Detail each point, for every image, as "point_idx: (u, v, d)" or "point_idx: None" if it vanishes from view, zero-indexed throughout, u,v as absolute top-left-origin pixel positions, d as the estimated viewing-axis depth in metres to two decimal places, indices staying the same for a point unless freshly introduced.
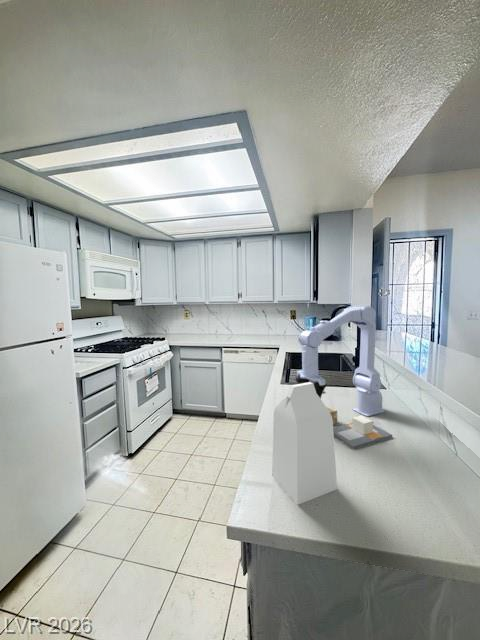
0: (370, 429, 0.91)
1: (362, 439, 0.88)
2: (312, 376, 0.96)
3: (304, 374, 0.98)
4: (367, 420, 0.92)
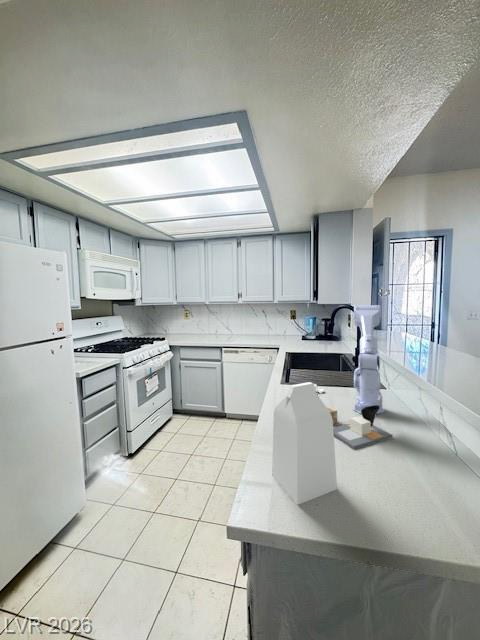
0: (368, 430, 0.91)
1: (362, 439, 0.88)
2: (361, 400, 0.92)
3: None
4: (365, 421, 0.91)
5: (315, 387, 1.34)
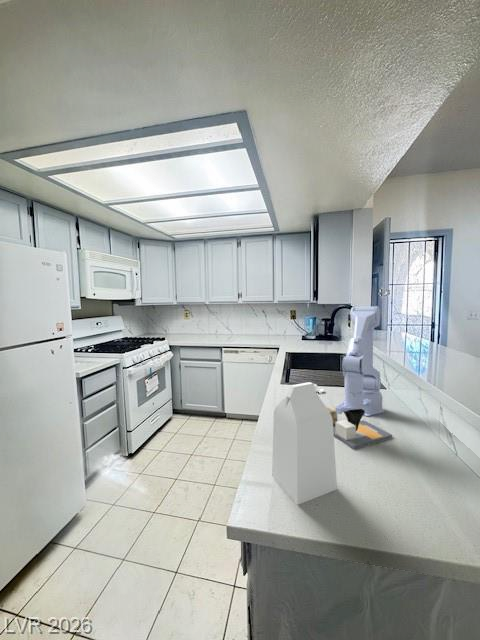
0: (353, 434, 0.88)
1: (362, 439, 0.88)
2: (345, 403, 0.90)
3: None
4: (350, 424, 0.89)
5: (315, 387, 1.34)
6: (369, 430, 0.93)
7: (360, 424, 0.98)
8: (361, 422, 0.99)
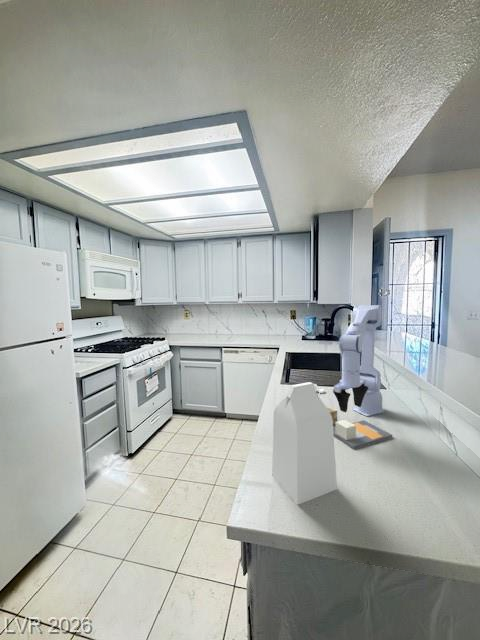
0: (353, 434, 0.88)
1: (362, 439, 0.88)
2: (343, 382, 0.91)
3: None
4: (350, 424, 0.89)
5: (315, 387, 1.34)
6: (369, 430, 0.93)
7: (360, 424, 0.98)
8: (361, 422, 0.99)
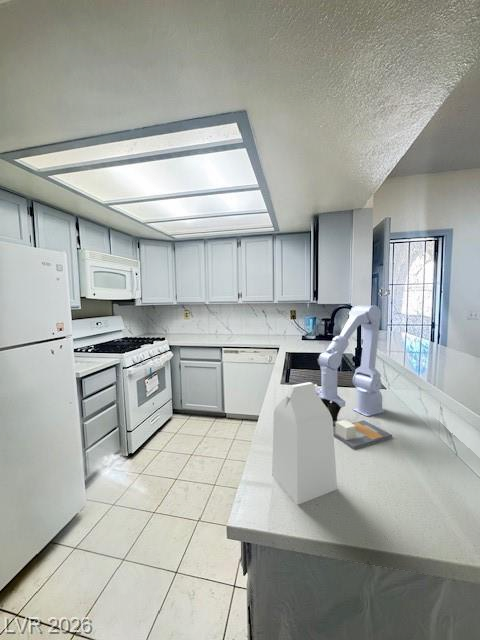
0: (353, 434, 0.88)
1: (362, 439, 0.88)
2: (332, 397, 0.99)
3: (324, 395, 1.00)
4: (350, 424, 0.89)
5: (316, 387, 1.34)
6: (369, 430, 0.93)
7: (360, 424, 0.98)
8: (361, 422, 0.99)
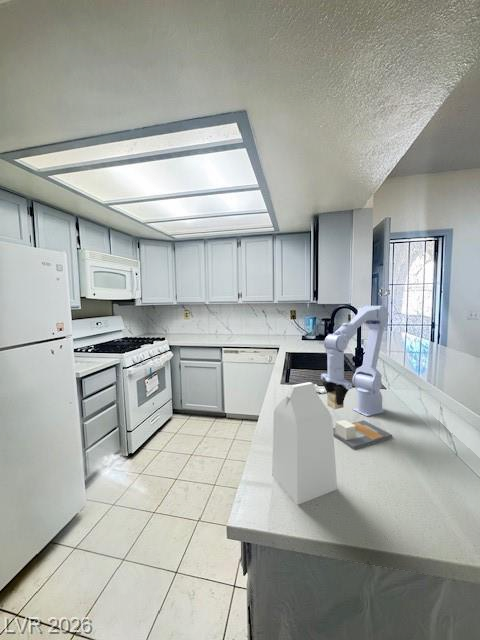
0: (353, 434, 0.88)
1: (362, 439, 0.88)
2: (338, 380, 0.97)
3: (330, 378, 0.98)
4: (350, 424, 0.89)
5: (316, 387, 1.34)
6: (369, 430, 0.93)
7: (360, 424, 0.98)
8: (361, 422, 0.99)
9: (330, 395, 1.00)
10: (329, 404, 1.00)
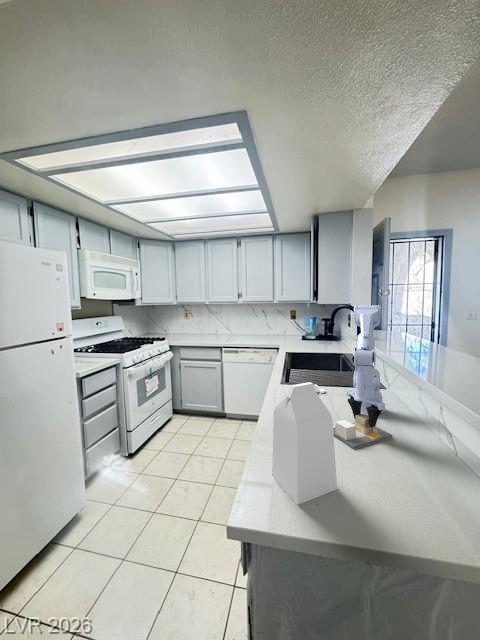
0: (353, 434, 0.88)
1: (362, 439, 0.88)
2: (368, 399, 0.89)
3: (359, 396, 0.91)
4: (350, 424, 0.89)
5: (316, 387, 1.34)
6: None
7: None
8: None
9: (359, 419, 0.92)
10: (357, 428, 0.93)
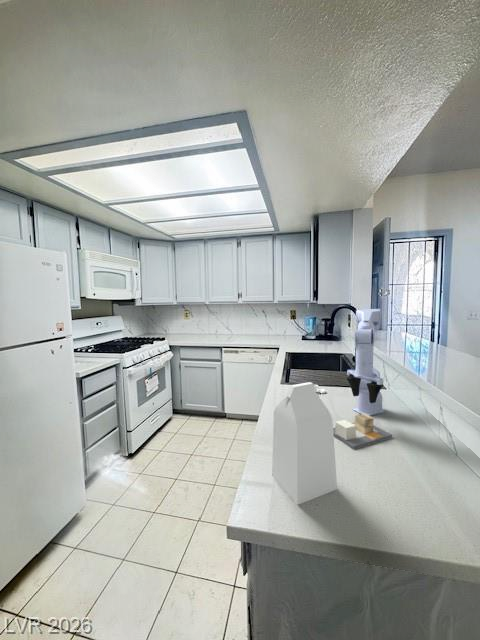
0: (353, 434, 0.88)
1: (362, 439, 0.88)
2: (368, 375, 0.94)
3: (359, 373, 0.95)
4: (350, 424, 0.89)
5: (316, 387, 1.34)
6: None
7: None
8: None
9: (359, 419, 0.92)
10: (357, 428, 0.93)
